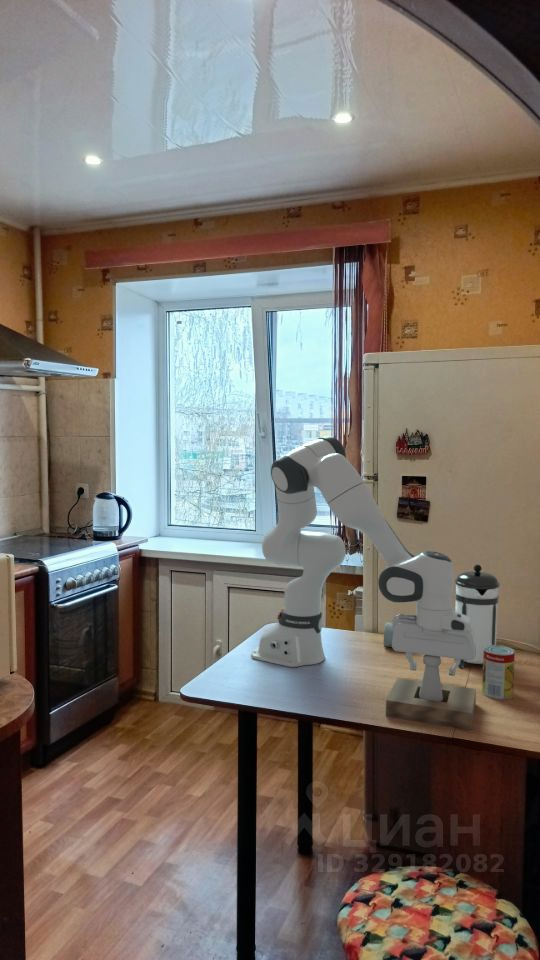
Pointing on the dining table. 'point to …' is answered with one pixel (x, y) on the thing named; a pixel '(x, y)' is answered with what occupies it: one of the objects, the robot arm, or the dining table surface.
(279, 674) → the dining table surface
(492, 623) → the coffee press
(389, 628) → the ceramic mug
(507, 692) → the canned food
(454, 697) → the walnut holder
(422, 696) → the salt shaker
